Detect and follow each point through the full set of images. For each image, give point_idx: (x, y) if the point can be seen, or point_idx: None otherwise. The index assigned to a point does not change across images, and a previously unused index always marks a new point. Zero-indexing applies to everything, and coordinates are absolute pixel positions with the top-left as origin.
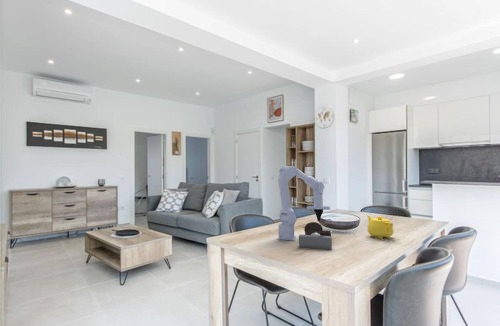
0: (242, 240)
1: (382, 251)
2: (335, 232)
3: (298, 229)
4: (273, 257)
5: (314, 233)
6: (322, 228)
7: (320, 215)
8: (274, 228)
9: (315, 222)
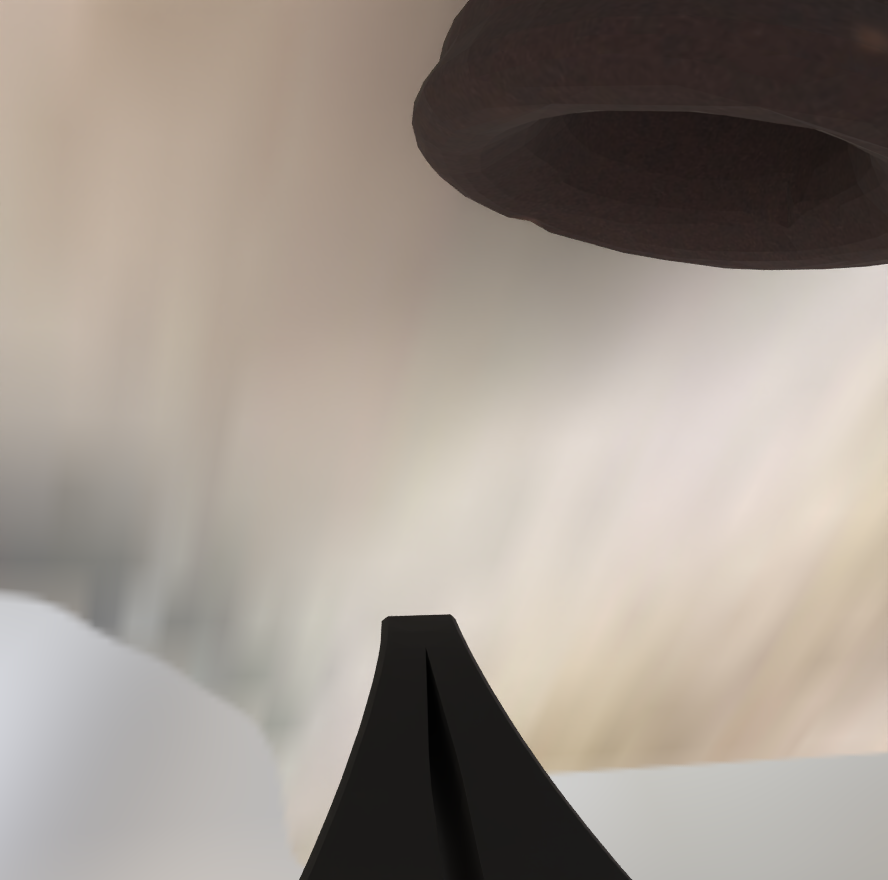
0: None
1: None
2: (57, 545)
3: (614, 701)
4: None
5: None
6: (428, 79)
7: (373, 822)
8: (865, 729)
9: (852, 29)
